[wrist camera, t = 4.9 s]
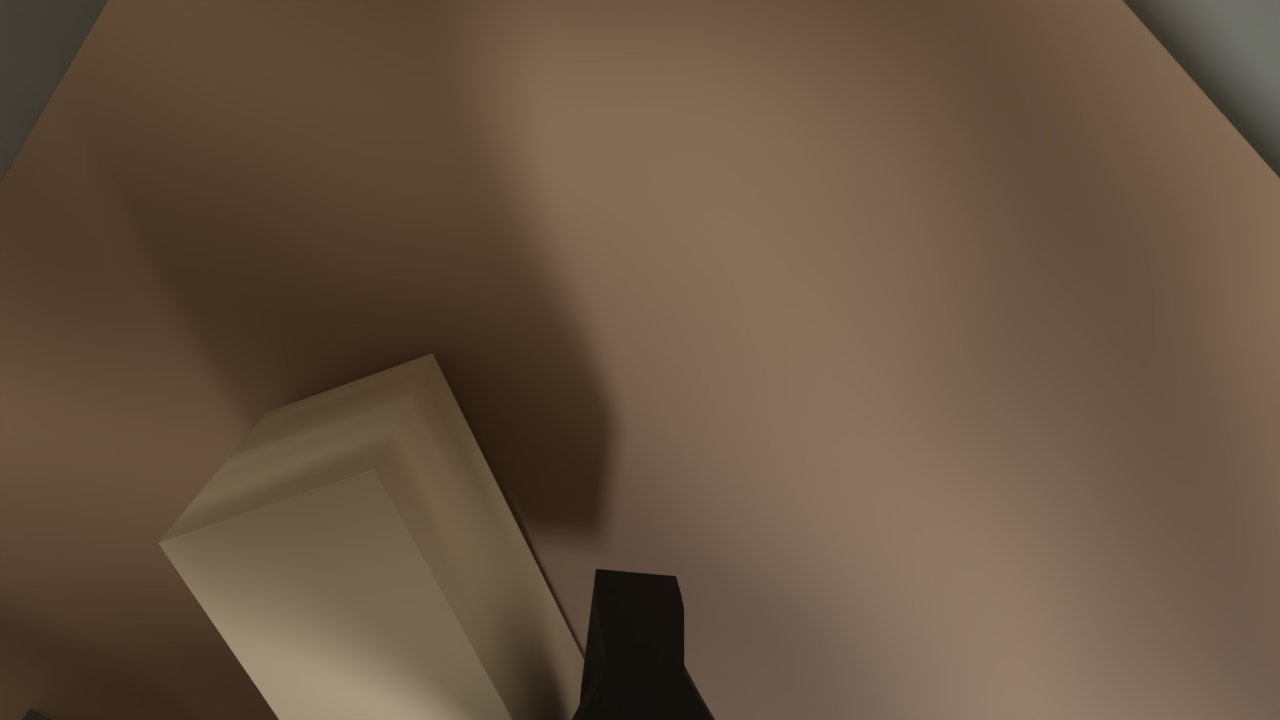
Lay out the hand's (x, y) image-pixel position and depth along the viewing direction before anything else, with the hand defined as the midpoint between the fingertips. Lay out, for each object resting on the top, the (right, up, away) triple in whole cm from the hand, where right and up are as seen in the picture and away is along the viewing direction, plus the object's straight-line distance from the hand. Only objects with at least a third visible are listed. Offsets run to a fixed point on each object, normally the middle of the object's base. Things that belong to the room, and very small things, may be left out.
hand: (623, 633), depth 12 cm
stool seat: (0, +1, +3) cm, 3 cm away
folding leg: (-1, -3, +2) cm, 4 cm away
